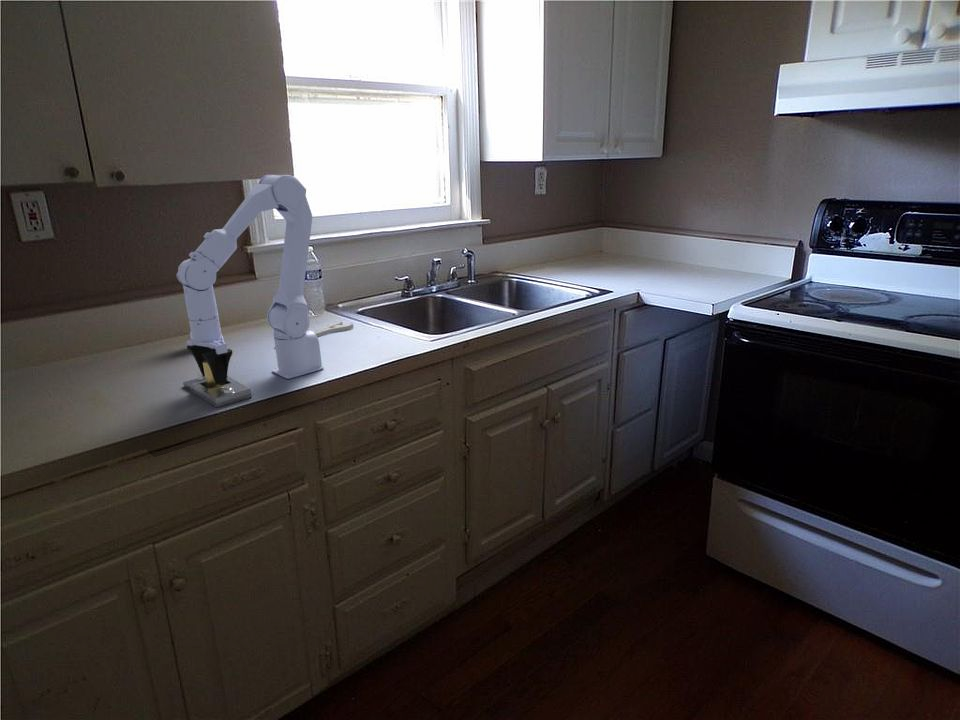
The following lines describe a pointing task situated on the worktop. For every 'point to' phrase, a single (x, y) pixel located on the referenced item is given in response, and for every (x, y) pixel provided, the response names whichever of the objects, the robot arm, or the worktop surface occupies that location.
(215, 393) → the studded plate with cutout
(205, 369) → the brass pin
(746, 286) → the worktop surface
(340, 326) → the adjustable wrench
